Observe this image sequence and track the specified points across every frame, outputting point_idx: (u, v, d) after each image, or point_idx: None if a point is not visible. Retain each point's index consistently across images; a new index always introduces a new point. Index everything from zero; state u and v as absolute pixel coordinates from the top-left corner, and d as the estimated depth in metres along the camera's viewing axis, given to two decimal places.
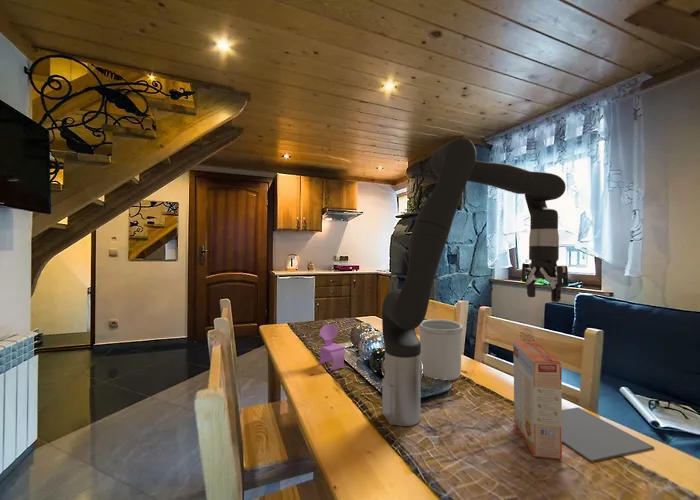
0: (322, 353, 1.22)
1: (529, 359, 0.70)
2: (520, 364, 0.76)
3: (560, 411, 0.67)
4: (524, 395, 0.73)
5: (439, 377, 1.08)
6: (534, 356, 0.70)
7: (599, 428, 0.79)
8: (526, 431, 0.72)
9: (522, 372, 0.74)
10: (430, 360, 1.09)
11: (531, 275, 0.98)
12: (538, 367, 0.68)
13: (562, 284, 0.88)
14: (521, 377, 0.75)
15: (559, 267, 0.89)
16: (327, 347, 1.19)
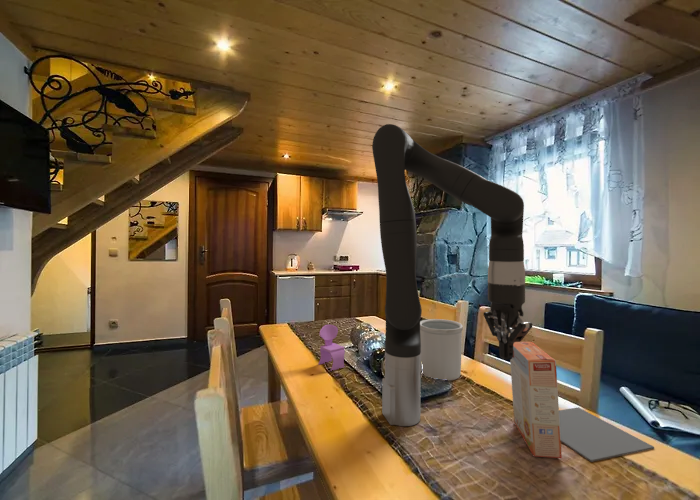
0: (322, 353, 1.22)
1: (524, 359, 0.71)
2: (516, 364, 0.76)
3: (557, 409, 0.67)
4: (521, 395, 0.73)
5: (439, 377, 1.08)
6: (529, 355, 0.71)
7: (599, 428, 0.79)
8: (525, 431, 0.72)
9: (518, 372, 0.75)
10: (430, 360, 1.09)
11: (497, 324, 0.73)
12: (533, 366, 0.68)
13: (513, 341, 0.69)
14: (518, 377, 0.75)
15: (521, 326, 0.66)
16: (327, 347, 1.19)
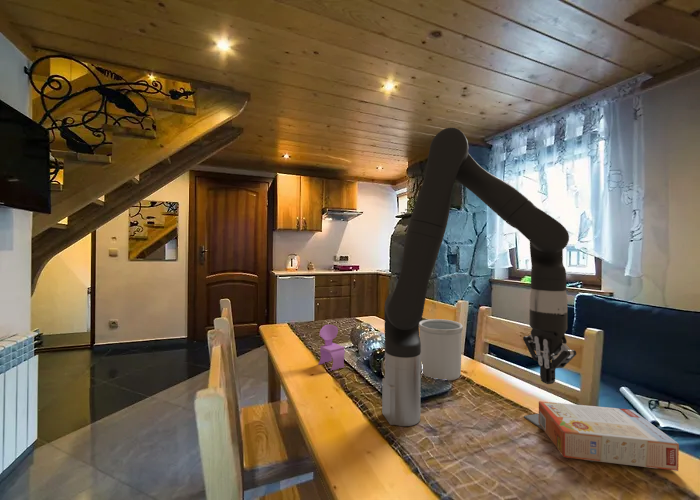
0: (322, 353, 1.22)
1: (667, 436, 0.66)
2: (631, 420, 0.72)
3: (619, 462, 0.65)
4: (608, 423, 0.70)
5: (439, 377, 1.08)
6: None
7: None
8: (572, 423, 0.70)
9: (628, 422, 0.71)
10: (430, 360, 1.09)
11: (538, 350, 0.75)
12: (671, 448, 0.64)
13: (557, 367, 0.72)
14: (619, 420, 0.71)
15: (566, 354, 0.69)
16: (327, 347, 1.19)
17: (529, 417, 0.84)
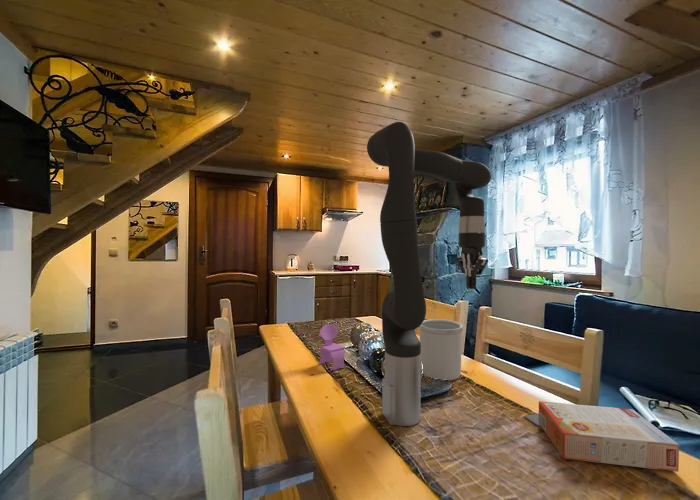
0: (322, 353, 1.22)
1: (667, 437, 0.66)
2: (632, 420, 0.71)
3: (619, 463, 0.65)
4: (608, 424, 0.70)
5: (439, 377, 1.08)
6: None
7: None
8: (573, 424, 0.70)
9: (628, 423, 0.70)
10: (430, 360, 1.09)
11: (464, 263, 0.99)
12: (671, 449, 0.63)
13: (475, 273, 0.95)
14: (619, 421, 0.71)
15: (480, 261, 0.92)
16: (327, 347, 1.19)
17: (529, 417, 0.84)
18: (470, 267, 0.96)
